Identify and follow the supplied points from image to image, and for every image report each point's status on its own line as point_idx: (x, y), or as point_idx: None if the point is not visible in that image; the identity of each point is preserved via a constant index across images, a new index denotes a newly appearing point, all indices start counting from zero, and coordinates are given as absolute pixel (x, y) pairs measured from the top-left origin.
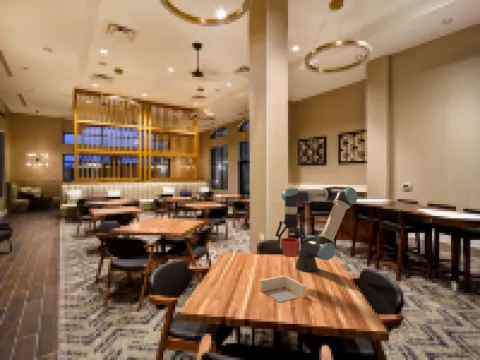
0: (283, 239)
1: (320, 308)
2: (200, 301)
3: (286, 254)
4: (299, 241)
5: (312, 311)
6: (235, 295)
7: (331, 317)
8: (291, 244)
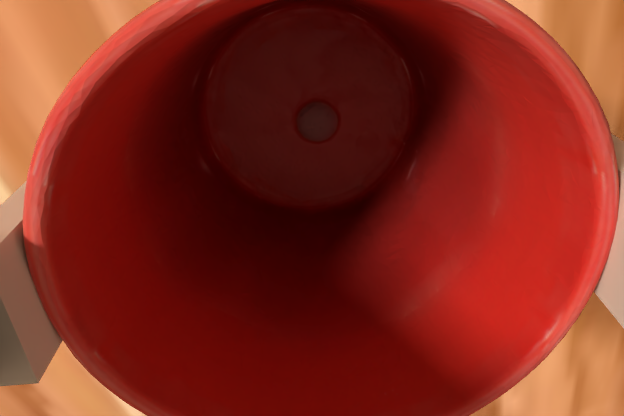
0: (64, 199)
1: (561, 355)
2: None
3: (274, 228)
4: (611, 296)
5: (515, 396)
6: (62, 410)
7: (607, 408)
8: (390, 390)
